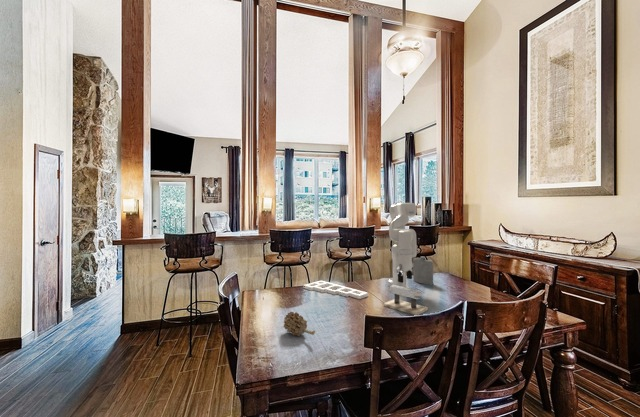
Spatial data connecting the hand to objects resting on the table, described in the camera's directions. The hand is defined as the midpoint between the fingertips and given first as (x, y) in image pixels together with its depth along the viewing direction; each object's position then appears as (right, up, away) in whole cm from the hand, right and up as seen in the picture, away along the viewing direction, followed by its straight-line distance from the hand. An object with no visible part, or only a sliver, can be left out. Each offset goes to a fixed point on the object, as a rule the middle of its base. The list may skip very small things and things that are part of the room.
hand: (405, 280), depth 180 cm
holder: (-40, -16, +33) cm, 54 cm away
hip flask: (+29, -15, +54) cm, 63 cm away
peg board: (0, -16, 0) cm, 16 cm away
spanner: (0, -9, 0) cm, 9 cm away
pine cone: (-59, -18, -36) cm, 72 cm away
